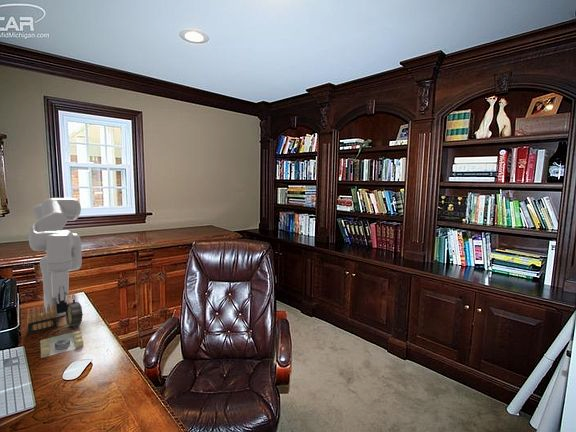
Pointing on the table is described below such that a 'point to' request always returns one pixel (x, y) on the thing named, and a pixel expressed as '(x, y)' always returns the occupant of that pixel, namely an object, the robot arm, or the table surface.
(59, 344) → the grey faceted block
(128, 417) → the table surface
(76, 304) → the alarm clock
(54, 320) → the ammunition clip
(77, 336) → the spacer board
